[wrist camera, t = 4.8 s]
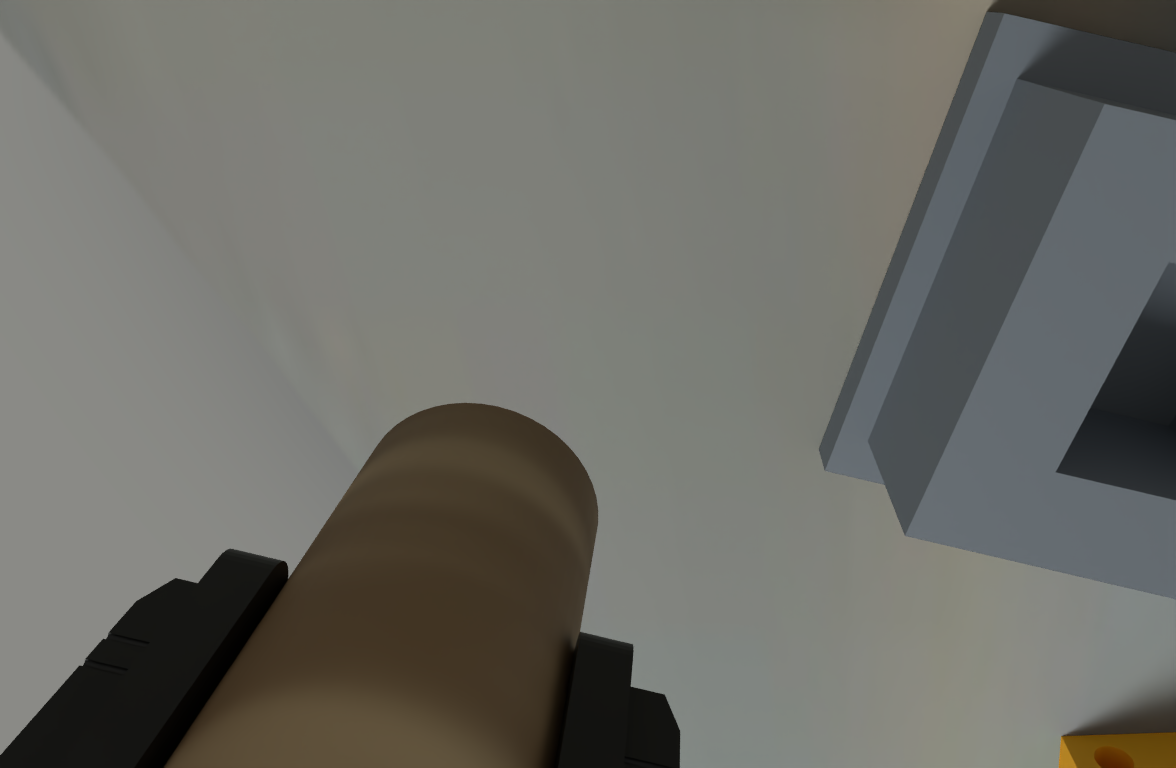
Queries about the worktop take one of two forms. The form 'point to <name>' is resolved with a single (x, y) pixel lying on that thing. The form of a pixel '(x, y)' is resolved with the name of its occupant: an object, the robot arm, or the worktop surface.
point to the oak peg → (421, 611)
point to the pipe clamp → (1119, 751)
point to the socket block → (1033, 317)
